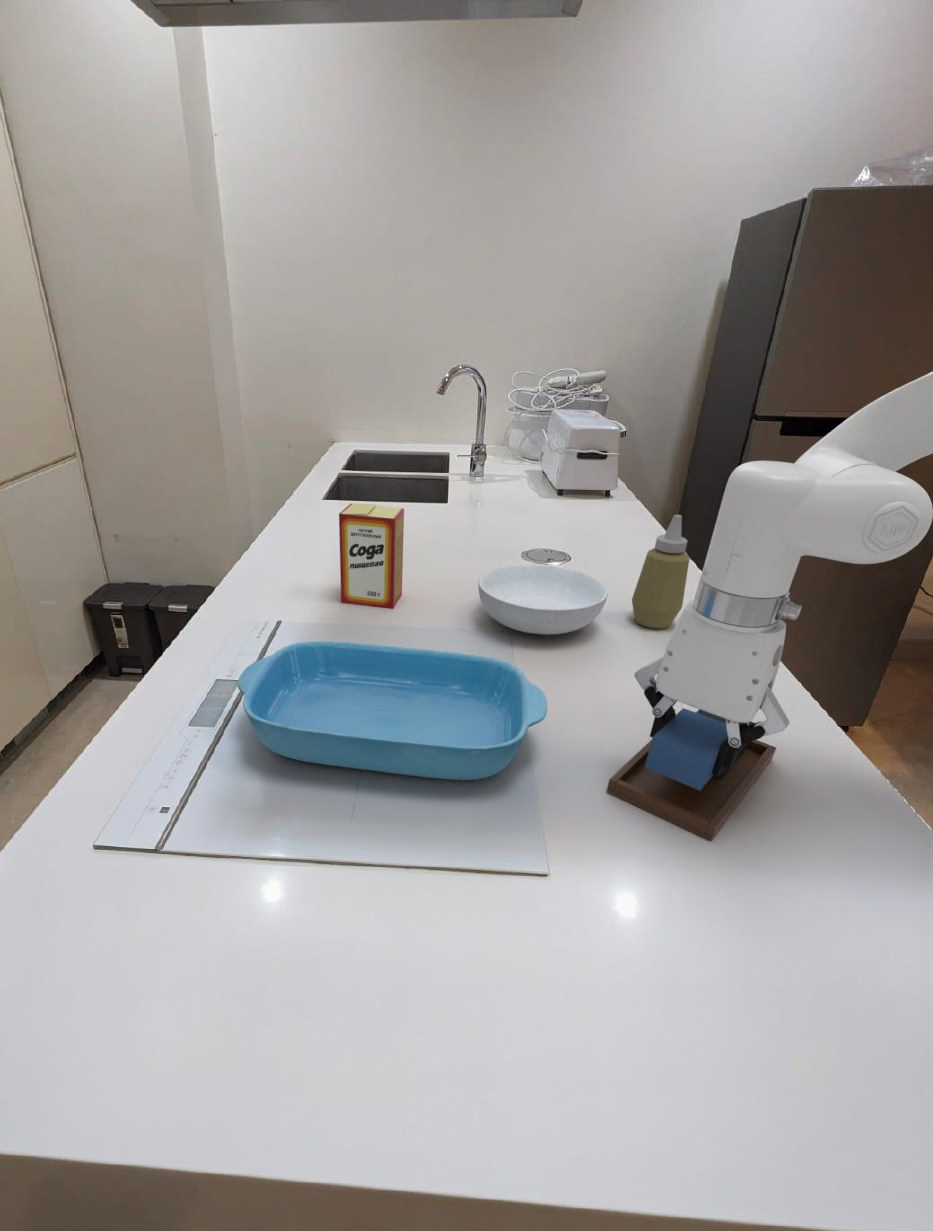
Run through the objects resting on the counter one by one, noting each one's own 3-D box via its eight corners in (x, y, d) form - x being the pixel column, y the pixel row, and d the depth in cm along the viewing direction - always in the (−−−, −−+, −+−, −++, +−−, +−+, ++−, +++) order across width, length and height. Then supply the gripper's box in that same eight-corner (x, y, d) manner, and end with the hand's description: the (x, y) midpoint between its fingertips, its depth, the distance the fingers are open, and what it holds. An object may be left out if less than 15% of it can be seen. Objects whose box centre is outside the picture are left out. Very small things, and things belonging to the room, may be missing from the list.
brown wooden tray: (772, 759, 81) (776, 747, 80) (710, 841, 68) (715, 828, 67) (677, 723, 87) (681, 711, 86) (606, 792, 75) (609, 779, 74)
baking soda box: (401, 594, 122) (404, 506, 114) (393, 608, 117) (394, 516, 108) (351, 589, 124) (350, 501, 116) (341, 602, 119) (338, 511, 110)
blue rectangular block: (727, 758, 74) (738, 727, 72) (700, 791, 69) (710, 759, 67) (674, 737, 78) (683, 707, 75) (644, 767, 72) (652, 736, 70)
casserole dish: (537, 702, 91) (544, 655, 87) (542, 808, 72) (552, 753, 68) (273, 678, 95) (269, 632, 91) (214, 771, 76) (206, 718, 73)
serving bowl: (621, 620, 114) (629, 582, 111) (563, 663, 101) (571, 621, 97) (515, 589, 125) (519, 553, 122) (450, 625, 112) (453, 585, 108)
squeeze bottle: (628, 629, 111) (652, 520, 102) (626, 610, 118) (648, 507, 108) (679, 635, 110) (709, 525, 100) (674, 615, 116) (701, 511, 107)
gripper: (849, 617, 61) (783, 775, 71) (666, 569, 71) (629, 714, 80) (827, 643, 56) (759, 809, 66) (634, 588, 66) (599, 740, 75)
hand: (688, 755), depth 73 cm, fingers closed on blue rectangular block, 6 cm apart
